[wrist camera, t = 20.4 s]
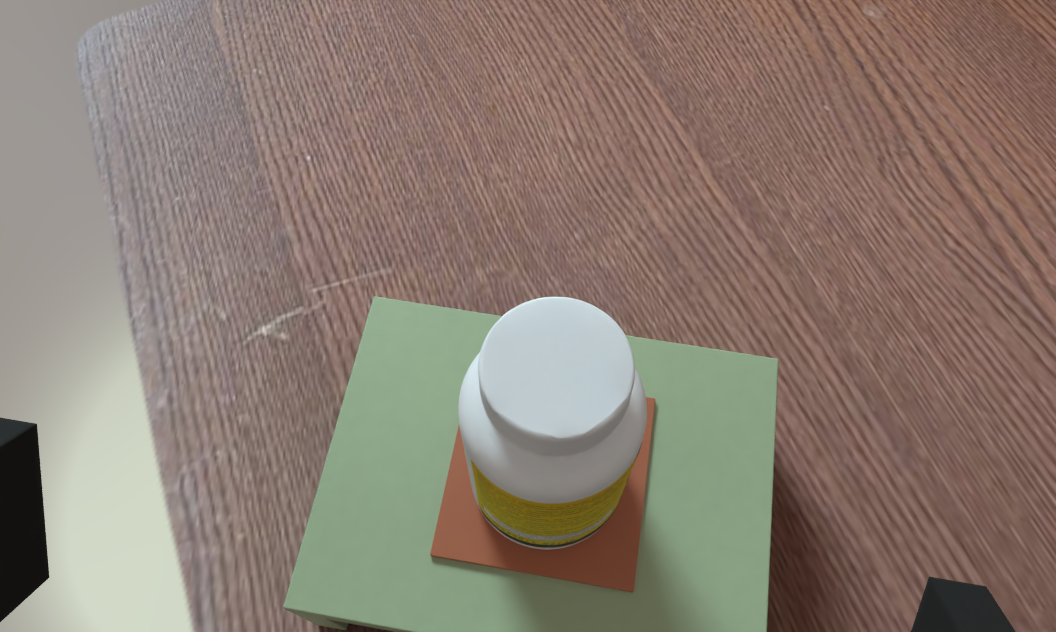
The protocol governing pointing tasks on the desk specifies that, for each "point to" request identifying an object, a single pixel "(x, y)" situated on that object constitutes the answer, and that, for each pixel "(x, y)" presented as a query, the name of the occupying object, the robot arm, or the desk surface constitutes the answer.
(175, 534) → the desk surface
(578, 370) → the supplement bottle
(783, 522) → the desk surface
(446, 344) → the shelf
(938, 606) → the robot arm
